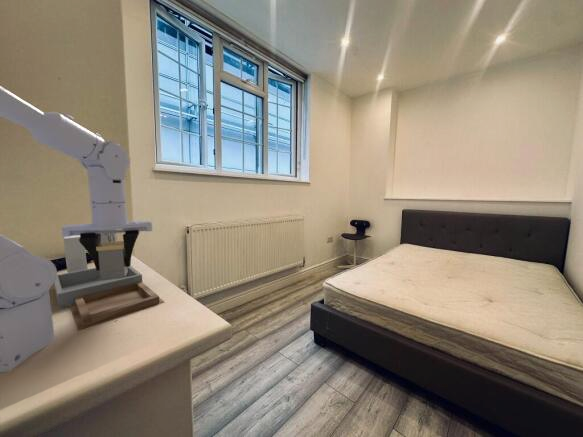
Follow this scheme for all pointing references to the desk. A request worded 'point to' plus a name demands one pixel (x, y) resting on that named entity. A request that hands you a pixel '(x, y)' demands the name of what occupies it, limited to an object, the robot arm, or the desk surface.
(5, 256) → the robot arm
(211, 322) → the desk surface
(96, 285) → the bin
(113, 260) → the grey tall block
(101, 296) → the socket block
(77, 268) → the skincare box
